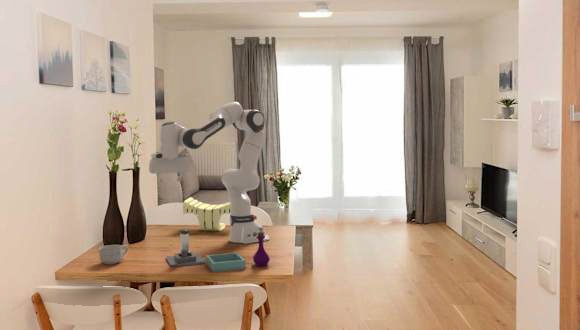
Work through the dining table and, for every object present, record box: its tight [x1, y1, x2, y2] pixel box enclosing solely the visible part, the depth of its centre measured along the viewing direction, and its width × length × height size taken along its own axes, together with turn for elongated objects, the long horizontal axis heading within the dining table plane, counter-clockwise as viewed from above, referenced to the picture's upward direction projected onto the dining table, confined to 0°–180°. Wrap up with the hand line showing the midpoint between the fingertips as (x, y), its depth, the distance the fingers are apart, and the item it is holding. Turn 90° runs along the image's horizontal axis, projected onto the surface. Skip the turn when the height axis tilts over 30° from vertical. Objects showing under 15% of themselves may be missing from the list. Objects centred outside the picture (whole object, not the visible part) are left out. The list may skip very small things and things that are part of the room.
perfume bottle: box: [252, 226, 271, 267], centre depth 273 cm, size 8×8×18 cm
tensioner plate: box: [165, 251, 206, 268], centre depth 283 cm, size 16×16×3 cm
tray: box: [205, 252, 247, 273], centre depth 273 cm, size 15×15×4 cm
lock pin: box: [179, 228, 190, 257], centre depth 282 cm, size 4×4×14 cm
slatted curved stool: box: [182, 196, 231, 232], centre depth 354 cm, size 30×16×18 cm, turn 83°
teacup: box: [98, 244, 129, 265], centre depth 281 cm, size 14×11×8 cm
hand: (169, 181), depth 297 cm, fingers open, 8 cm apart
